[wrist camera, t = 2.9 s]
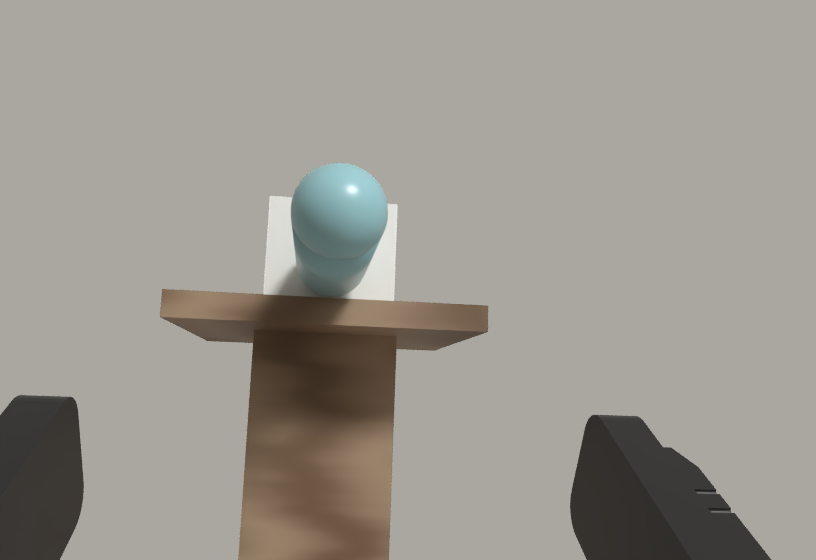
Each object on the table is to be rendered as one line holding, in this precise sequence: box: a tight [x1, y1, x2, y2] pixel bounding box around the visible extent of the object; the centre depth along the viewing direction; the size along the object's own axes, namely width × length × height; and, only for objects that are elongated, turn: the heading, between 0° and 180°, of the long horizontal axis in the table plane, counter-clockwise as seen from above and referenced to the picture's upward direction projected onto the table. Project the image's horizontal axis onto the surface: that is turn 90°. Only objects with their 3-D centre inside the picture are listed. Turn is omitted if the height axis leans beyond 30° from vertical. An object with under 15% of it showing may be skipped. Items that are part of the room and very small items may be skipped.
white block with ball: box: [263, 163, 397, 301], centre depth 29 cm, size 5×23×4 cm, turn 8°
